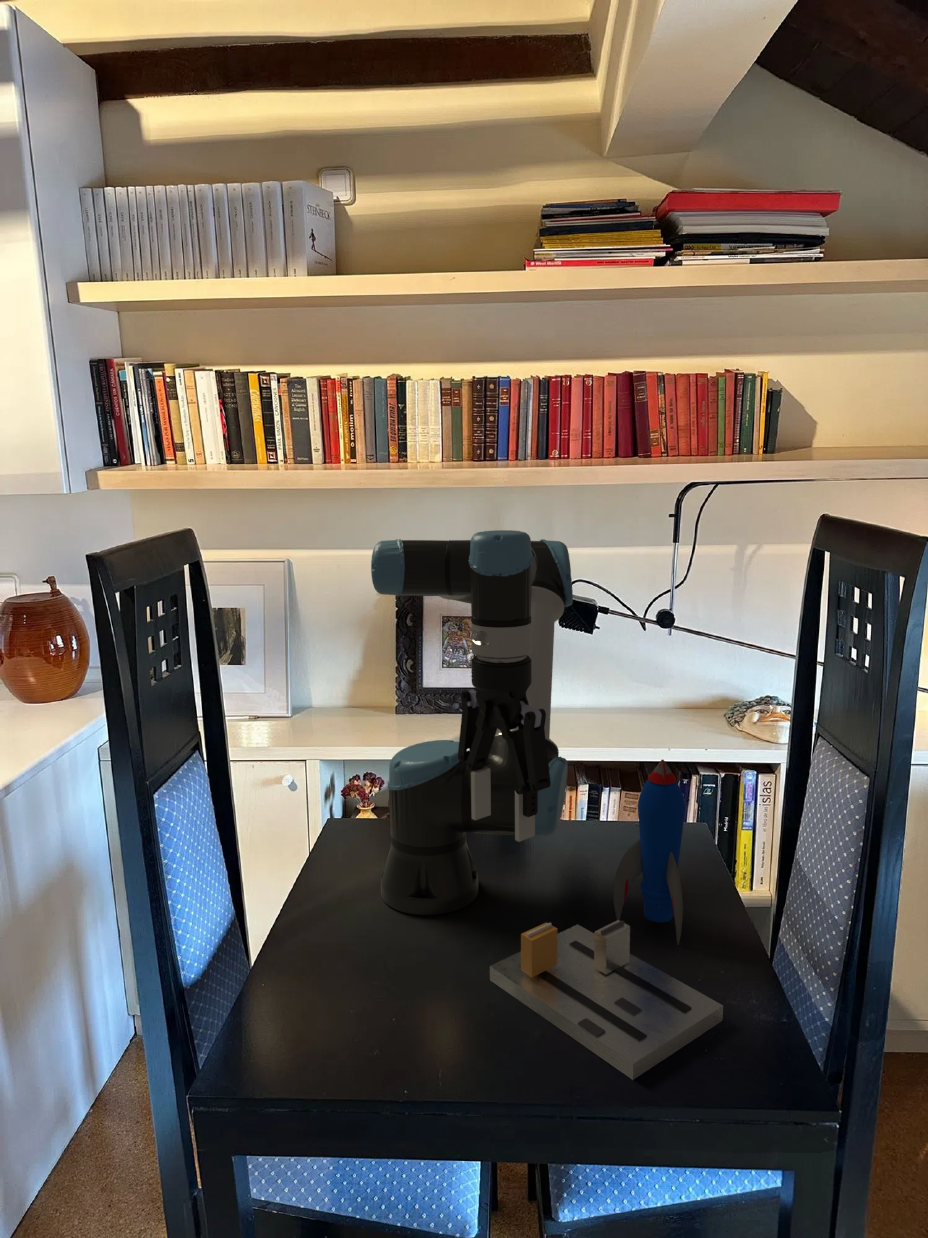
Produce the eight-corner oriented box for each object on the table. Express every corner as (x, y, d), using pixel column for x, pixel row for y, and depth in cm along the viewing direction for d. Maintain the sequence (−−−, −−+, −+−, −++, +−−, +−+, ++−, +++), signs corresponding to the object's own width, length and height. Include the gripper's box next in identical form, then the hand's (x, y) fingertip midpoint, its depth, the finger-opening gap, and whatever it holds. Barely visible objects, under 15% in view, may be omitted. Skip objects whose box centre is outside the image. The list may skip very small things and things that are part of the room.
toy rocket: (682, 949, 121) (688, 774, 116) (611, 942, 123) (614, 770, 118) (679, 909, 131) (685, 748, 127) (614, 903, 133) (617, 744, 129)
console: (489, 980, 114) (489, 926, 113) (577, 937, 124) (577, 887, 123) (632, 1080, 96) (634, 1017, 94) (722, 1020, 106) (725, 962, 104)
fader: (521, 970, 112) (521, 931, 111) (546, 958, 115) (546, 919, 114) (531, 977, 110) (531, 937, 109) (557, 964, 113) (557, 925, 112)
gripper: (427, 646, 116) (431, 810, 121) (536, 676, 100) (536, 863, 105) (472, 638, 121) (474, 796, 125) (582, 665, 105) (581, 845, 109)
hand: (502, 827), depth 115 cm, fingers open, 8 cm apart
